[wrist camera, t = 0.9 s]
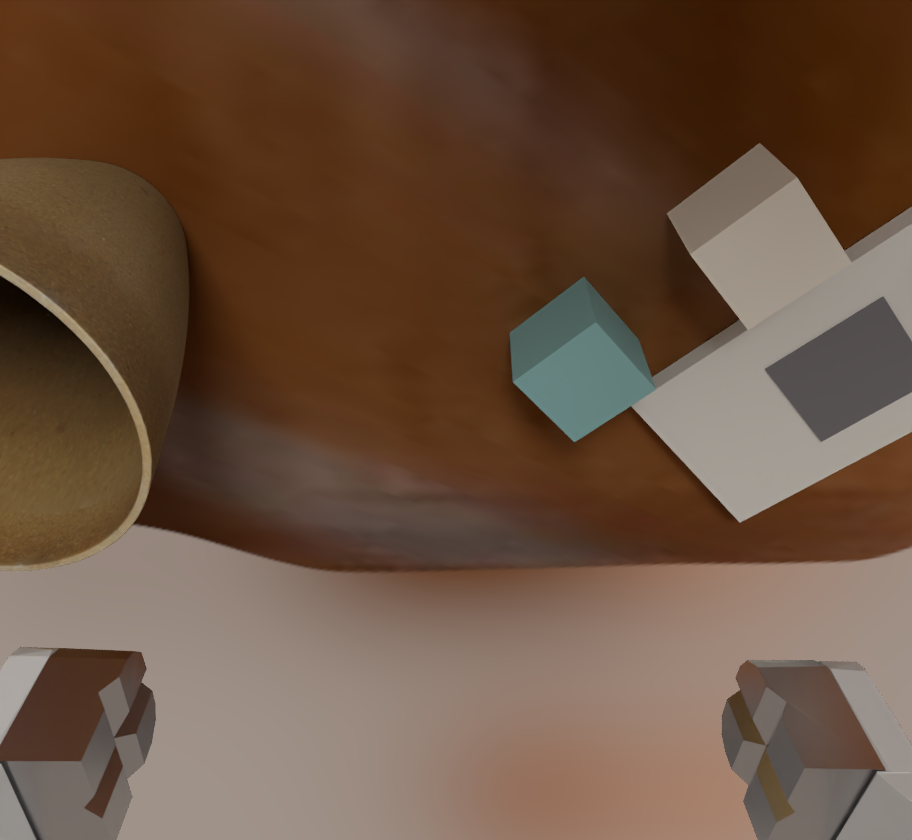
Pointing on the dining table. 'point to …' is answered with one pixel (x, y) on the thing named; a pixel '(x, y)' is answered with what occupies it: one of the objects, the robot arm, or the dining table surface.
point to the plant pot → (83, 353)
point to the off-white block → (758, 236)
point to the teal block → (579, 361)
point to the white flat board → (797, 383)
